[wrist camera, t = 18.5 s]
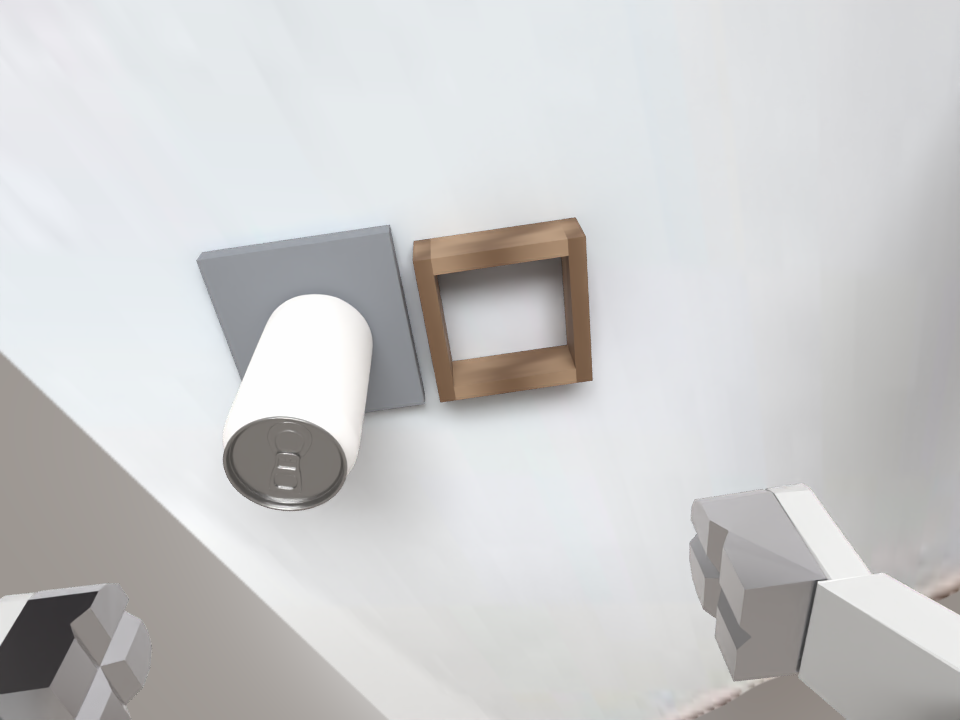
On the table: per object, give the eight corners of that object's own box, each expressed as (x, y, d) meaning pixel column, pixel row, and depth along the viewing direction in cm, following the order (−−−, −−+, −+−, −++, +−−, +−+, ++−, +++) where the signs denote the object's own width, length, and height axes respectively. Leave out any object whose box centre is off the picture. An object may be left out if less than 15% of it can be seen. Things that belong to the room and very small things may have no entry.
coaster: (389, 224, 39) (388, 232, 38) (424, 393, 46) (424, 403, 45) (202, 252, 39) (196, 260, 38) (263, 416, 46) (259, 427, 45)
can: (380, 299, 40) (365, 420, 30) (366, 388, 44) (348, 524, 33) (268, 281, 39) (213, 400, 29) (263, 374, 43) (211, 510, 32)
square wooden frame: (575, 217, 40) (585, 236, 37) (583, 355, 45) (592, 380, 42) (413, 241, 40) (412, 261, 37) (439, 376, 45) (440, 402, 42)
